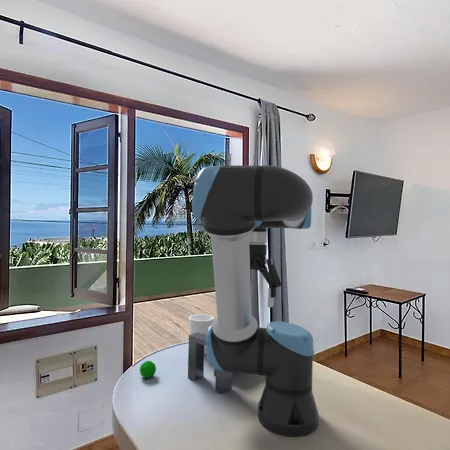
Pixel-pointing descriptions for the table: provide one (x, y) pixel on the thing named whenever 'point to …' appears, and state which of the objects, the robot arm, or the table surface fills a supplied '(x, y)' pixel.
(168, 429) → the table surface
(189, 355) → the grey arch
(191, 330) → the foam cup
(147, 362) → the polyhedron
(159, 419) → the table surface
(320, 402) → the table surface
